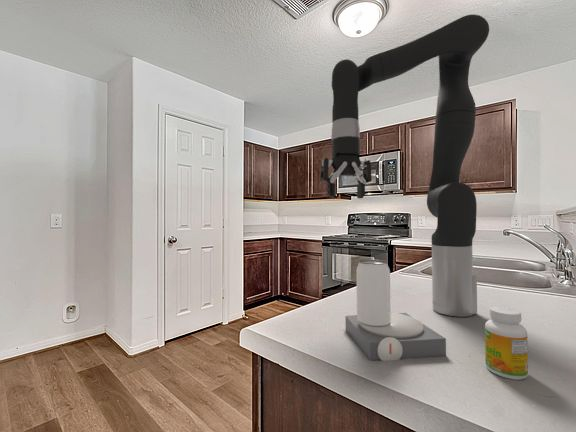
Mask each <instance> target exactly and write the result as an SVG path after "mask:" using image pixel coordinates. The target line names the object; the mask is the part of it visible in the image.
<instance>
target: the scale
mask: <svg viewBox="0 0 576 432" xmlns="http://www.w3.org/2000/svg"><path fill="white" fill-rule="evenodd" d="M345 330H346V332H347V333H348V335H350V337H351V338H352V339H353V341H354V343H356V345H357V346H358V347H359V348H360V349H361V351H362V352H363V353H364V355H365V356H366V357H367V358H368V359H369V361H380V360H381V362H388V361H399V360H400V359H412V358H425V357H426V358H427V357H429V358H430V357H442V356H444V357H445V356H447V339H446V338H445V337H444V336H443V335H441V334H439V333H438V332H436V331H435V330H433V329H432V328H430V327H429V326H427V325H426V324H424V323H422V322H421V320H419V319H416V318H415V317H413V316H411V315H410V314H408V313H407V312H397V313H396V312H391V320H390V323H389V324H388V325H386V326H382V327H373V326H367V325H364V324H362V323H360V322H359V320H358V319H357V314H352V315H345Z"/></svg>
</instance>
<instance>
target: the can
mask: <svg viewBox="0 0 576 432" xmlns="http://www.w3.org/2000/svg"><path fill="white" fill-rule="evenodd" d="M391 313H392V311H391V270H390V267H389V265H388V261H386V260H383V259H382V260H380V259H360V260H358V264H357V267H356V315H357V319H358V320H359V322H360V323H362V324H364V325H367V326H373V327H382V326H386V325H388V324H389V323H390V320H391Z"/></svg>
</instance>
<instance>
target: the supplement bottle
mask: <svg viewBox="0 0 576 432" xmlns="http://www.w3.org/2000/svg"><path fill="white" fill-rule="evenodd" d="M489 316H490V318H491V319H488V320H487V321H486V322H485V324H484V337H485V338H484V341H485V343H484V345H485V346H484V349H485V350H484V351H485V352H484V355H485V357H484V358H485V366H486V367H485V368H486V369H487V370H489V371H490V372H491V373H493V374H495V375H496V376H499V377H502V378H506V379H509V380H515V381H518V380H519V381H520V380H525V379H527V377H528V375H529V358H528V357H529V356H528V355H529V354H528V353H529V351H528V347H529V346H528V330H527V329H526V327H525V326H524V325H523V324H520V323H521V321H522V312H521V311H520V310H518V309H515V308H513V307H512V308H511V307H506V306H496V305H495V306H491V307H489Z"/></svg>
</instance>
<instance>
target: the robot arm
mask: <svg viewBox="0 0 576 432" xmlns="http://www.w3.org/2000/svg"><path fill="white" fill-rule="evenodd" d="M489 33H490V25H489V23H488V20H487V19H486V18H485V17H483V16H482V15H480V14H479V15H478V14H467V15H463V16H462V17H459V18H458V19H455V20H453V21H451V22H449V23H447V24H445V25H443V26H441V27H440V28H438V29H436V30H433V31H432V32H430V33H427V34H425V35H422V36H421V37H419V38H416V39H414V40H412V41H409V42H406V43H404V44H402V45H399V46H396V47H393V48H390V49H386V50H384V51H380V52H378V53H374V54H372V55H369V56H368V57H367V58H366V59H365V61H363V63H361V64H360V65H357V64H356V62H355V61H353V60H352V59H349V58H344V59H341V60H340V61H338V62H336V64H335V66H334V67H333V69H332V73H331V88H332V93H333V94H332V95H333V96H332V99H333V102H332V108H331V109H332V110H331V111H332V112H331V113H332V115H331V116H332V117H331V118H332V119H331V121H332V127H331V136H330V137H331V156H332V157H331V158H332V159H329V158H327V157H326V158H324V159H322V160H321V161H320V177H319V180H320V182H322V183H326V186H327V187H326V189H327V190H326V191H327V193H326V194H327V196H328V197H329V199H335V197H336V184H335V181H336V180H337V178H338V177H344V176H345V177H351V178H352V179H353V180H355V182H356V184H357V185H356V193H357V195H356V198H357V199H364V197H365V196H366V184H367V183H370V182H372V180H373V179H372V178H373V177H372V163H371V160H369V159H368V160H363V161H362V160H361V159H360V156H361V140H360V139H361V137H360V136H361V132H360V131H361V130H360V123H359V120H360V119H359V101H358V100H359V99H358V97H359V93H360V92H361V91H363V90H364V89H367V88H369V87H371V86H372V85H374V84H377V83H380V82H381V83H382V82H383V81H387V80H390V79H394V78H396V77H398V76H401V75H403V74H405V73H407V72H409V71H410V70H413V69H415V68H417V67H418V66H420V65H422V64H423V63H425V62H427V61H430V60H431V59H435V58H438V75H439V77H438V79H439V80H438V92H437V100H436V101H437V102H436V113H435V119H434V122H435V123H434V133H433V135H434V136H433V137H434V139H433V150H432V151H433V153H432V168H431V175H430V180H429V186H428V191H427V196H426V206H427V209H428V211H429V212H430V214H431V215H432V216H434V217H436V218H437V221H436V222H437V225H436V228H435V231H434V232H433V233H432V234H431V269H432V270H431V276H432V277H431V282H432V283H431V284H432V288H431V289H432V310H433V311H434V312H436V313H439V314H442V315H445V316H450V317H460V318H462V317H471V316H473V315H477V314H478V279H477V278H478V277H477V276H476V275H475V274H474V272H473V270H474V268H473V267H474V264H473V261H474V259H473V239H474V237H475V235H476V231H477V212H478V211H477V198H476V194H475V191H474V190H473V188H472V187H471V186H469V185H468V184H466V183H464V182H461V181H460V179H461V177H460V176H461V171H462V170H461V169H462V165H463V162H464V159H465V157H466V154H467V152H468V150H469V148H470V146H471V143H472V140H473V137H474V134H475V127H476V116H477V110H476V109H477V107H476V103H475V99H474V97H473V94H472V92H471V90H470V86H469V74H470V67H471V63H472V58H473V57H474V55H475V54H476V53H477V52H478V51H479V49H481V47H482V46H483V45H484V43H485V42H486V41H487V39H488V37H489ZM330 167H332V168H333V170H332V172H331V173H330V175H329V168H330ZM360 169H362V172H361V170H360Z"/></svg>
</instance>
